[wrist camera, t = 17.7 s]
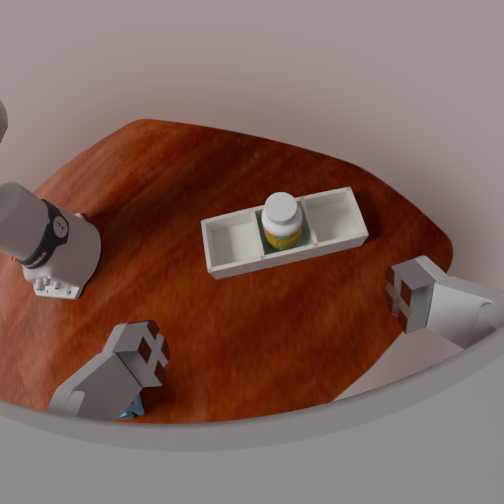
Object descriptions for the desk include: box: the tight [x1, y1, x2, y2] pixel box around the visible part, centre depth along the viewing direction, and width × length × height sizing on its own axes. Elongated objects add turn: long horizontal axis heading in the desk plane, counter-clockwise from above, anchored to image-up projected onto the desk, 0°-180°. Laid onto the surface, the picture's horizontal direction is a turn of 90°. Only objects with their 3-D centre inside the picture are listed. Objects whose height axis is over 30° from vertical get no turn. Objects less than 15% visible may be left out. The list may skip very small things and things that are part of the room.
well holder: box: [201, 187, 368, 279], centre depth 41 cm, size 23×8×4 cm, turn 101°
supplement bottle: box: [262, 192, 302, 251], centre depth 37 cm, size 5×5×10 cm
